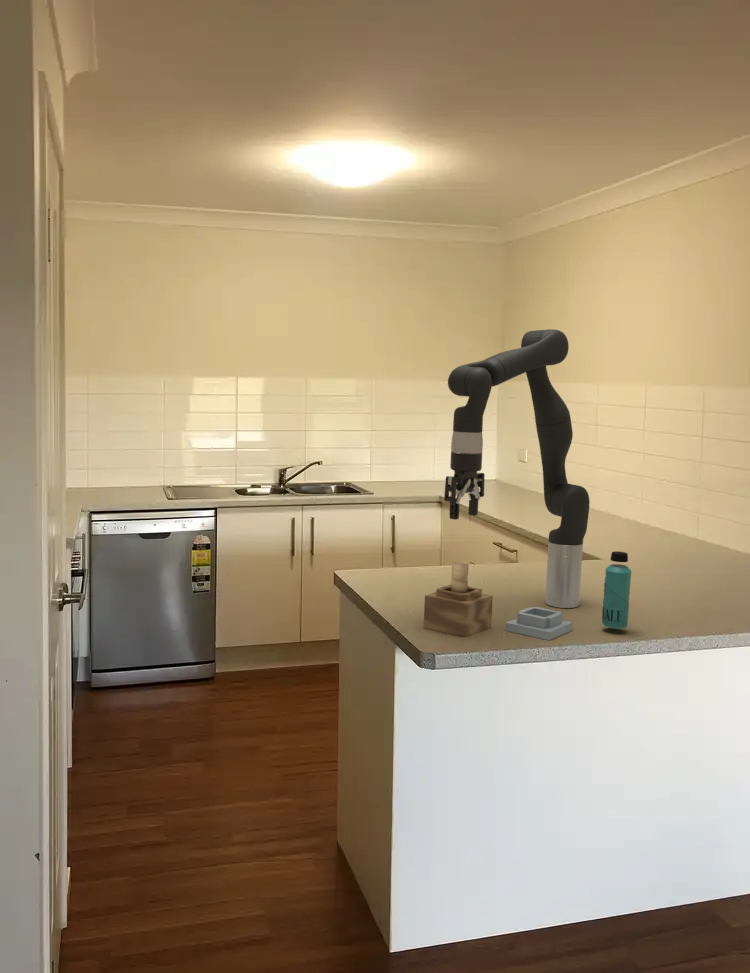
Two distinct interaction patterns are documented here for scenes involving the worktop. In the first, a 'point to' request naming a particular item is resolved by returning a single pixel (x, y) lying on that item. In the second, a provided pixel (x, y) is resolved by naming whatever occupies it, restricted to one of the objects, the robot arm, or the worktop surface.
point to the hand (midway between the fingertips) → (463, 517)
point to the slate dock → (539, 623)
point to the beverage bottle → (616, 593)
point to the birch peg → (459, 577)
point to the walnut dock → (458, 611)
